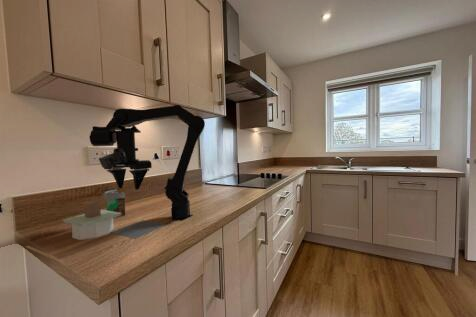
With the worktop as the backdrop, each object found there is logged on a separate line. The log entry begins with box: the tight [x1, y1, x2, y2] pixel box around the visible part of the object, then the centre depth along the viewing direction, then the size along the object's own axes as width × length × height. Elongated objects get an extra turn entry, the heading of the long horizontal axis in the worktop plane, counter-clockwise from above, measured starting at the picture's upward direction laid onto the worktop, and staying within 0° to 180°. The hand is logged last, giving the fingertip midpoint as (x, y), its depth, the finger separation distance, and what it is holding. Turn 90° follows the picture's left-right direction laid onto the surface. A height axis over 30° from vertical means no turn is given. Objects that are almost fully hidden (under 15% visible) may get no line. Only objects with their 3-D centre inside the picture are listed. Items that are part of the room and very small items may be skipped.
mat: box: [110, 219, 168, 239], centre depth 65 cm, size 12×12×1 cm
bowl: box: [71, 218, 114, 241], centre depth 63 cm, size 10×10×5 cm
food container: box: [103, 189, 126, 219], centre depth 81 cm, size 12×6×10 cm, turn 45°
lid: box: [62, 200, 121, 227], centre depth 63 cm, size 11×11×5 cm
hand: (128, 188), depth 72 cm, fingers open, 9 cm apart
